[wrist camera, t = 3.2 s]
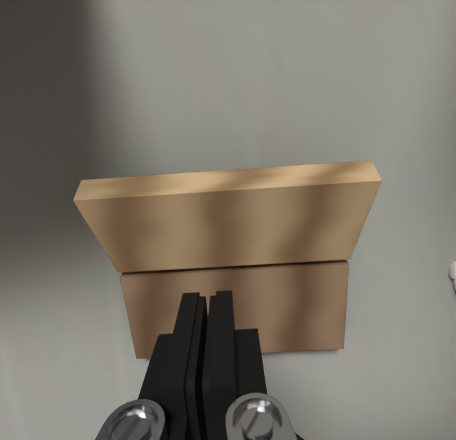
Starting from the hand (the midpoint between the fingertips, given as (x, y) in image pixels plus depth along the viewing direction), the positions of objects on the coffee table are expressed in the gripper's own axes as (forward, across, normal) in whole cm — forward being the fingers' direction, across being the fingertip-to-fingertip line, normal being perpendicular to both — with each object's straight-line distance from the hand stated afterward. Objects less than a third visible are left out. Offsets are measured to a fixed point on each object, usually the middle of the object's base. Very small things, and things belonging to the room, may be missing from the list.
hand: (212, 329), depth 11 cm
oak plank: (+15, -1, +1) cm, 15 cm away
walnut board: (+18, -1, +10) cm, 21 cm away
